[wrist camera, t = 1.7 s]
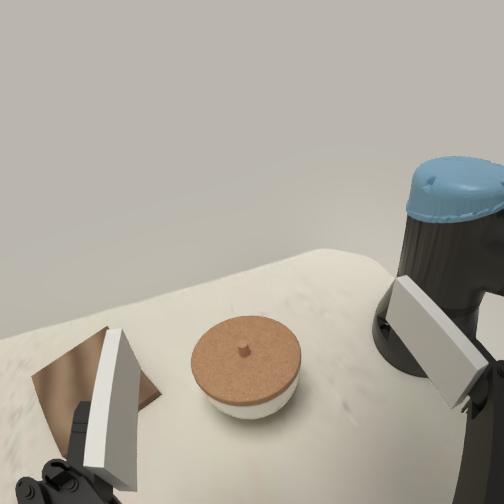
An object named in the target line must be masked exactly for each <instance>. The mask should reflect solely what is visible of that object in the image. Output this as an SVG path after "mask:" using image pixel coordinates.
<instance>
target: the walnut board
mask: <svg viewBox="0 0 504 504" xmlns="http://www.w3.org/2000/svg"><path fill="white" fill-rule="evenodd" d="M107 330H109V328H108V326H107V327H105V328H104V329H102V330H100V331H99V332H97V333H96V334H94V335H93V336H91V337H90V338H88V339H87V340H85V341H84V342H82V343H81V344H79V345H78V346H76V347H75V348H73V349H72V350H70V351H69V352H67V353H66V354H64V355H62V356H61V357H59V358H58V359H56V360H55V361H53V362H52V363H50V364H49V365H47V366H46V367H44V368H43V369H41V370H40V371H39V372H37V373H36V374H34V375H33V376H31V377H32V380H33V383H34V387H35V390H36V393H37V396H38V399H39V402H40V404H41V407H42V410H43V413H44V415H45V418H46V420H47V423H48V425H49V428H50V430H51V433H52V435H53V437H54V440H55V442H56V444H57V446H58V448H59V451H60V453H61V455H62V457H64V458H65V459H67V452H68V445H69V438H70V433H71V426H72V424H73V423H72V420H73V415H74V411H75V409H76V407H77V406H78V404H79V402H80V401H92V396H93V391H94V386H95V380H96V375H97V370H98V366H99V361H100V356H101V352H102V348H103V343H104V339H105V335H106V331H107ZM160 395H161V393H160V392H159V390H158V389H157V388H156V387H155V386H154V385H153V383H152V382H151V381H150V380H149V379H148V378H147V376H146V375H145V374H144V373H143V372H142V370H141V372H140V385H139V400H138V411H139V410H141V409H142V408H144V407H145V406H146V405H148V404H149V403H150V402H152V401H153V400H155V399H156V398H157V397H159V396H160Z"/></svg>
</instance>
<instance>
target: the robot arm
mask: <svg viewBox="0 0 504 504" xmlns="http://www.w3.org/2000/svg"><path fill="white" fill-rule="evenodd" d="M406 211H407V213H408V215H407V222H406V230H405V235H404V241H403V247H402V252H401V257H400V262H399V268H398V273H397V277H396V278H395V280H394V282H393V283H392V285H391V286H390V288H389V289H388V291H387V292H386V294H385V295H384V297H383V298H382V300H381V301H380V303H379V305H378V307H377V309H376V312H375V317H374V321H373V338H374V341H375V344H376V346H377V348H378V349H379V351H380V353H381V354H382V355H383V356H384V357H385V359H386V360H387V361H389V362H390V363H391V364H392V365H394V366H395V367H397V368H398V369H400V370H402V371H404V372H406V373H409V374H412V375H415V376H421V377H429V378H430V380H431V381H432V383H433V384H434V386H435V387H436V388H437V390H438V391H439V393H440V394H441V396H442V397H443V399H444V400H445V401H446V403H447V404H448V406H449V407H450V409H452V408H453V407H455V406H457V405H458V404H460V403H462V402H463V400H464V399H465V398H466V396H467V395H469V397H470V399H469V401H468V402H467V403H466V405H465V406H464V407H463V408H462V411H461V413H463V412H464V411H465V410H466V409H467V407H468V410H467V412H466V413H467V423H466V433H465V441H464V448H463V455H462V461H461V467H460V472H459V477H458V482H457V487H456V491H455V495H454V499H453V503H452V504H504V360H499V361H496V360H495V359H494V358H493V357H492V356H491V354H490V353H489V352H488V351H487V350H486V349H485V347H484V346H483V345H482V344H481V343H480V342H479V341H478V340H476V330H477V322H478V312H479V306H480V303H481V301H482V299H483V296H484V294H485V292H489V293H493V294H497V295H500V296H504V166H502V165H500V164H494V163H491V162H490V161H487V160H483V159H478V158H471V157H455V156H453V157H441V158H435V159H431V160H429V161H426V162H425V163H423V164H421V165H420V166H419V167H418V168H417V169H416V171H415V173H414V175H413V179H412V184H411V191H410V197H409V200H408V202H407V205H406ZM140 372H141V367H140V365H139V363H138V361H137V359H136V357H135V355H134V353H133V351H132V349H131V347H130V344H129V342H128V340H127V338H126V336H125V334H124V331H123V329H122V328H118V329H109V330H107V331H106V335H105V339H104V343H103V348H102V352H101V356H100V361H99V366H98V370H97V375H96V380H95V386H94V391H93V396H92V401H80V402H79V404H78V406H77V407H76V409H75V411H74V415H73V420H72V423H73V424H72V426H71V433H70V438H69V445H68V452H67V460H66V461H64V460H61V459H52V460H50V461H48V462H47V463H46V464H45V465H44V468H43V470H42V479H43V481H36V480H34V479H33V478H30V477H23V478H21V479H19V481H18V482H17V484H16V488H15V490H16V497H17V500H18V504H122V503H121V502H120V501H119V500H118V499H117V497H116V496H115V495H113V487H114V488H116V489H117V490H119V491H134V492H137V421H138V400H139V385H140Z"/></svg>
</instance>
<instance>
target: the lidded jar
mask: <svg viewBox="0 0 504 504" xmlns="http://www.w3.org/2000/svg"><path fill="white" fill-rule="evenodd" d="M300 364H301V349H300V345H299V342H298V340H297V338H296V336H295V335H294V334H293V333H292V331H291V330H290V329H288V328H287V327H286V326H285V325H283V324H281V323H280V322H278V321H275V320H273V319H270V318H266V317H261V316H241V317H236V318H232V319H228V320H226V321H223V322H221V323H219V324H217V325H215V326H214V327H212V328H211V329H210V330H208V331H207V332H206V333H205V334H204V335H203V336H202V337H201V338H200V340H199V341H198V343H197V344H196V346H195V348H194V350H193V353H192V358H191V368H192V373H193V375H194V378H195V380H196V382H197V384H198V385H199V386H200V388H201V389H202V391H203V393H204V394H205V395H206V397H207V398H208V400H209V401H210V402H211V403H212V404H213V405H214V406H215V407H216V408H218V409H219V410H221V411H222V412H224V413H225V414H227V415H230V416H232V417H236V418H240V419H259V418H263V417H266V416H269V415H271V414H273V413H275V412H276V411H278V410H279V409H281V408H282V407H283V406H284V405H285V404H286V403H287V402H288V400H289V399H290V398H291V396H292V394H293V392H294V390H295V388H296V385H297V382H298V378H299V370H300Z"/></svg>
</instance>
